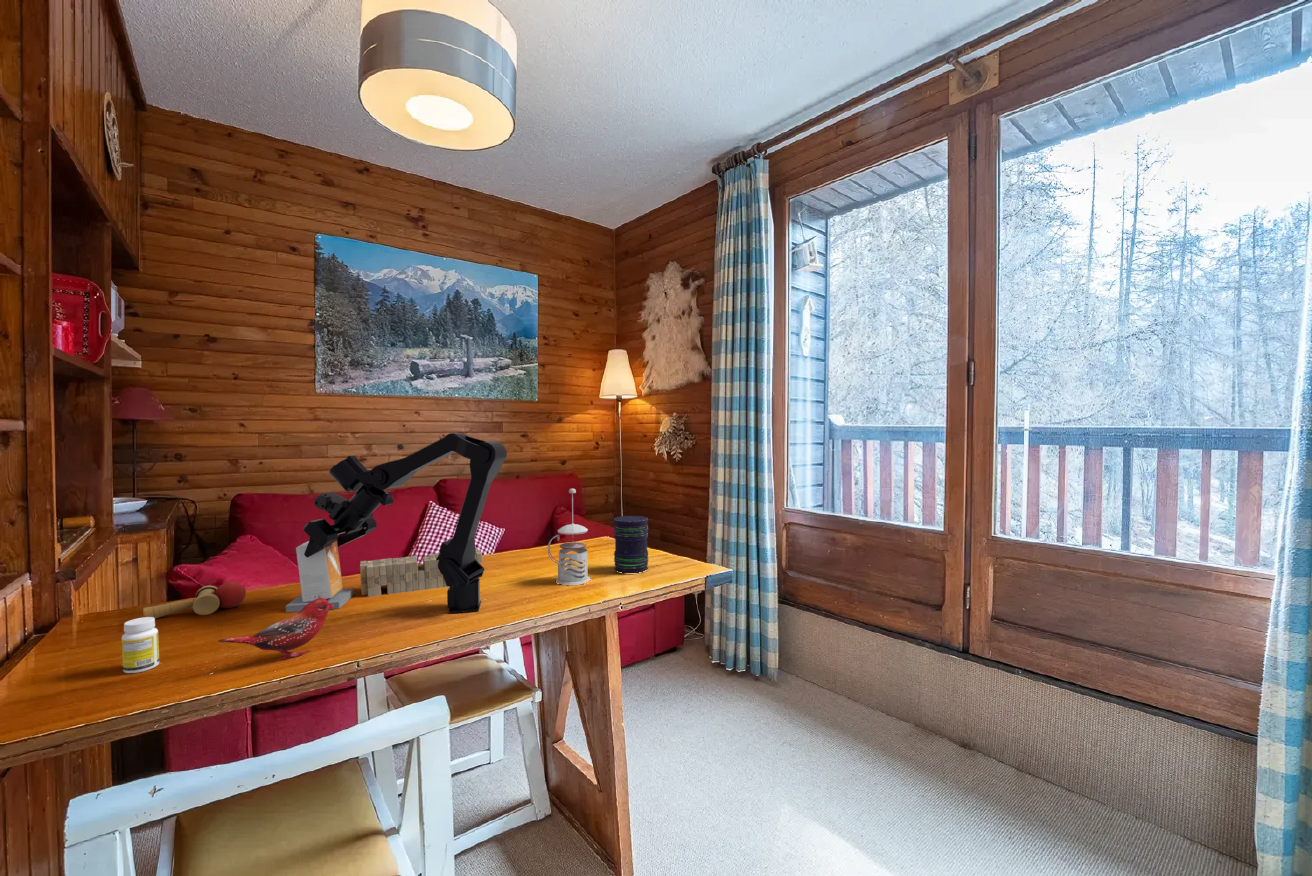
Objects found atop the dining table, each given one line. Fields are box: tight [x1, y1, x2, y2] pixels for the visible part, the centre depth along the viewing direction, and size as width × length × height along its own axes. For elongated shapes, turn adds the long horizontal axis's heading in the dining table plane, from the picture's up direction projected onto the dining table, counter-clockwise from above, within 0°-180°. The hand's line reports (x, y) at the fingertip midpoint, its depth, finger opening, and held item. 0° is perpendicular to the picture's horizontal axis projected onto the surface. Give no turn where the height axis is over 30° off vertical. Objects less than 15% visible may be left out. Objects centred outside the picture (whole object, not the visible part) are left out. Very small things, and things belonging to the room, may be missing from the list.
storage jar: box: [613, 515, 649, 573], centre depth 161 cm, size 10×10×15 cm
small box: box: [295, 540, 344, 602], centre depth 133 cm, size 8×6×13 cm
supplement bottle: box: [121, 616, 160, 674], centre depth 98 cm, size 5×5×8 cm
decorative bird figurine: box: [218, 598, 334, 661], centre depth 101 cm, size 3×18×10 cm, turn 134°
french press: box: [547, 488, 592, 586], centre depth 151 cm, size 10×12×25 cm
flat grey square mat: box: [285, 588, 355, 613], centre depth 133 cm, size 11×11×2 cm
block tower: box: [359, 548, 483, 598], centre depth 147 cm, size 8×8×29 cm
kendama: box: [142, 581, 247, 619], centre depth 127 cm, size 8×6×18 cm
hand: (320, 551), depth 133 cm, fingers open, 9 cm apart
